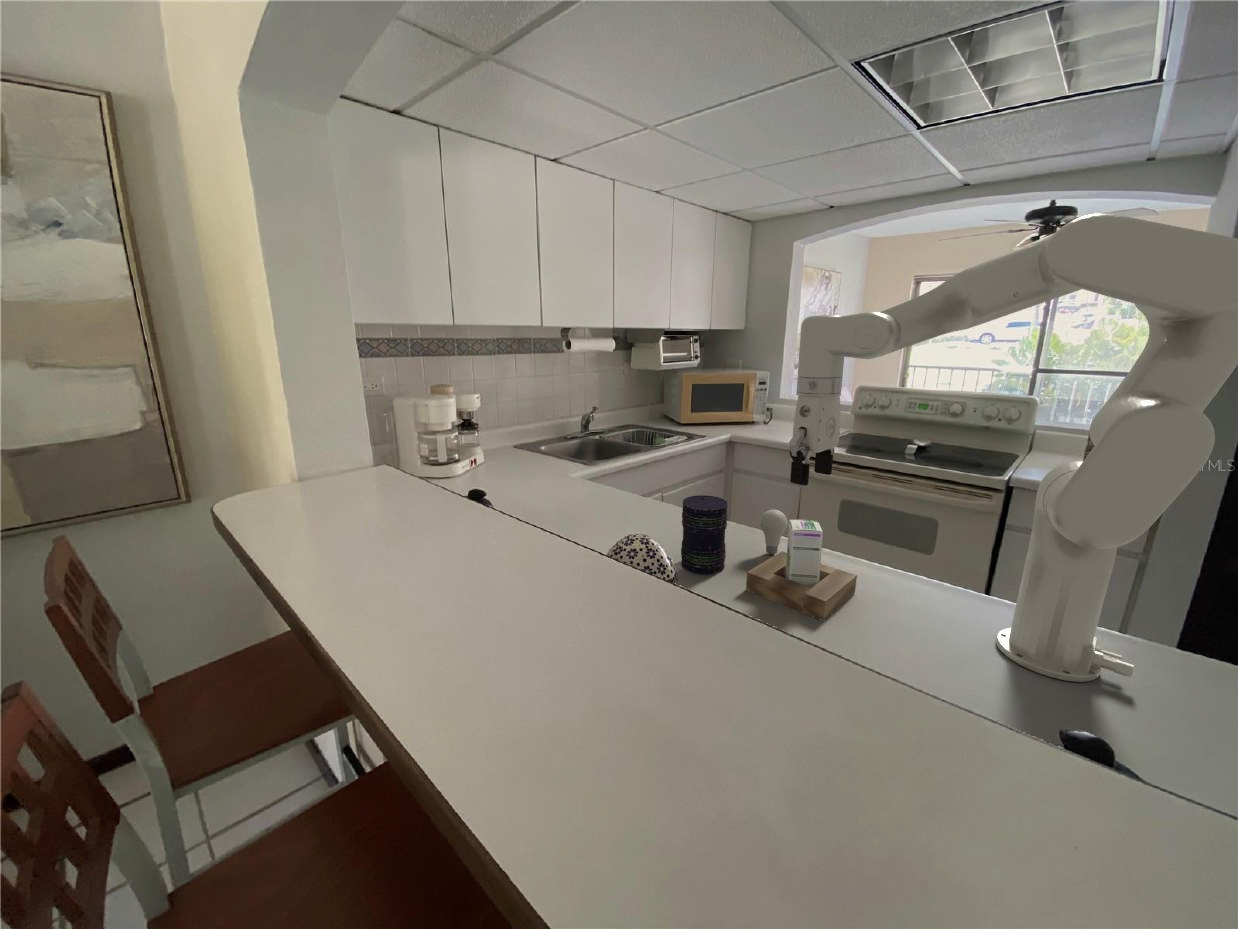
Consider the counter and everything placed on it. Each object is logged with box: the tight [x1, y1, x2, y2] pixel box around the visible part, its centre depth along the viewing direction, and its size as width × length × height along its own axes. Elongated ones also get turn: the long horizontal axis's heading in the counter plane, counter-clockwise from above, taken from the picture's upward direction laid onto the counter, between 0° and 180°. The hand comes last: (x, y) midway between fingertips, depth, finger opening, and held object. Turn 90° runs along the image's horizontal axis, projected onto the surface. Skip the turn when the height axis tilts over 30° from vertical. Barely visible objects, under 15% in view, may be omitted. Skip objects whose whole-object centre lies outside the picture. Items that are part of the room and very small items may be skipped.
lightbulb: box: [759, 509, 789, 556], centre depth 114 cm, size 6×6×11 cm
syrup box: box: [785, 519, 824, 588], centre depth 97 cm, size 6×6×14 cm
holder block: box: [745, 551, 858, 621], centre depth 98 cm, size 16×14×4 cm
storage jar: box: [680, 495, 729, 576], centre depth 109 cm, size 10×10×15 cm
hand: (811, 478), depth 93 cm, fingers open, 9 cm apart
